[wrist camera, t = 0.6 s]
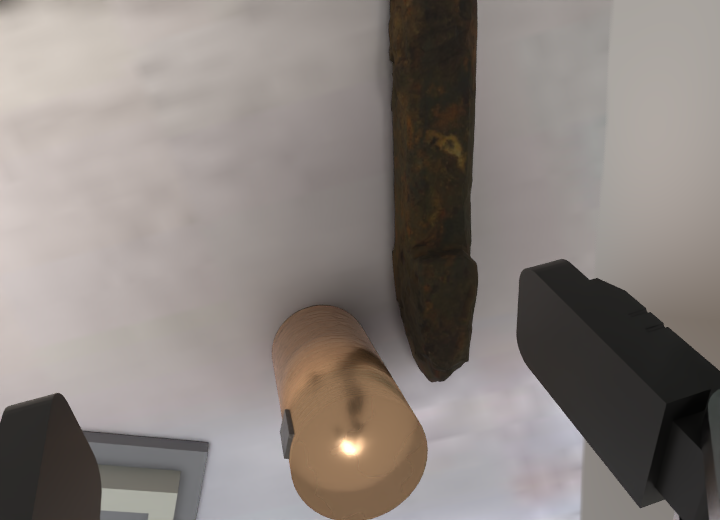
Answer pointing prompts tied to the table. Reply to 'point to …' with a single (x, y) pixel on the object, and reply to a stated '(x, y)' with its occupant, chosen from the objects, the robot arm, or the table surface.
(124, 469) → the duct flange
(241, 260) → the table surface
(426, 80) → the hand tool
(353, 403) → the copper cylinder
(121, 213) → the table surface
